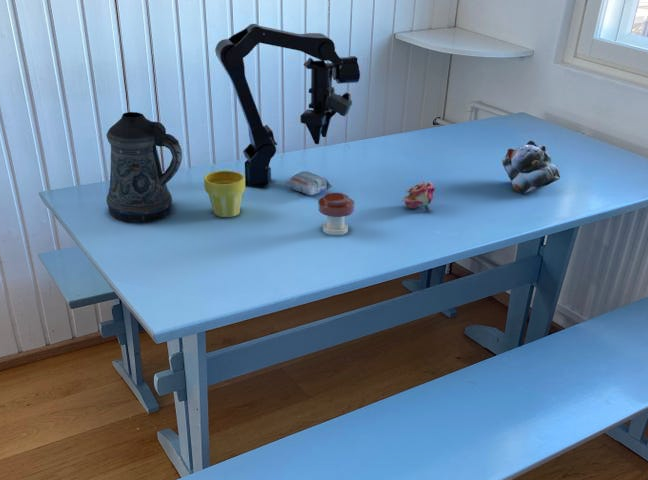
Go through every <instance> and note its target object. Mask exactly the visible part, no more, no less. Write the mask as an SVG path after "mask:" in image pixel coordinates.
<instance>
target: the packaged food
mask: <svg viewBox="0 0 648 480" xmlns="http://www.w3.org/2000/svg"><path fill="white" fill-rule="evenodd" d="M281 184H282V185H284V186H288V188H289V189H291V190H293V191H297V192H299V193H302V194H304V195H308V196H314V195H317V194H320V193H323V192H326V191H328V190H329V189H331V188H333V184H332V183H331V182H330V181H329V180H328V179H327V178H326V177H324V176H321V175H318V174H316V173H313V172H311V171H300V172H298V173H296V174H294V175H293V176H291V177H290V178H289V179H287V180H286V181H282V182H281Z"/></svg>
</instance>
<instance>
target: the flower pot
mask: <svg viewBox="0 0 648 480" xmlns="http://www.w3.org/2000/svg"><path fill="white" fill-rule="evenodd" d="M203 177H204V178H203V182H204V190H205V192H206V193H207V195H208V197H209V201H210V204H211V206H212V210H213V213H214V215H215V216H217V217H220V218H233V217H236V216H238V215H239V214H240V211H241V204H242V199H243V193H244V192H245V190H246V185H245V174H243V173H241V172H240V171H236V170H229V169H228V170H227V169H226V170H216V171H211V172H209V173H207V174H205V176H203Z"/></svg>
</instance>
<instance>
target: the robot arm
mask: <svg viewBox="0 0 648 480" xmlns="http://www.w3.org/2000/svg"><path fill="white" fill-rule="evenodd" d="M259 44H264V45H269V46H273V47H278V48H283V49H289V50H293V51H294V50H295V51H299V52H302V53H304V54H306V55H308V56H309V57H308V59H307V60H306V61H305V62H304V63H303V67H304V68H306V69H307V70H310V88H308V94H310V103H309V104H308V108H307V109H306V110H305V111H303V112H302V113H301V115H300V116H299V117H300V121H299V122H300V124H304V125H305V126H306V128H307V129H308V131H309V134H310V136H311V138H312V140H313V144H314V145H319V144H320V141H321V137H322V138H326V137H327V135H328V131H329V127H330V125H331V124H330V123H331V120H332V117H334V116H335V115H336V114H339V116H342V117H346V116H347V115H348V114H349V112H350V110H351V107H352V106H353V100H352V97H351V93H348V92H344V93H343V94H342V95H341V94H337V93H336V89H335V87H334V86H333V81H335V82H336V84H338V85H339V84H340V85H341V84H354V83H355V84H356V83H359V81H360V80H361V79H360V78H361V70H360V66H359V63H358V57H356V56H355V55H350V56H345V57H344V56H343V57H342V56H341V57H340V56H339V55H338V53H337V52H336V45H335V42H334V41H333V40H332V39H331V38H330V37H328V36H326V35H325V34H323V33H318V32H308V33H296V32H292V31H286V30H282V29H277V28H272V27H267V26H264V25H263V26H262V25H259V24H257V23H251V24H249V25H248V26H246V27H245V28H244V29H242V30H240V31H238V32H236V33H234V34H232V35H231V36H230V37H229V38H224V39H221V40H220V41H218V42H217V44H216V46H215V49H214V50H215V51H214V52H215V56H216V58H217V59H218V61H219V62H220V64H221V66H222V68H223V69H224V71H225V73H226V74H227V75H228V77H229V79H230V82H231V85H232V88H233V90H234V92H235V95H236V97H237V101H238V103H239V105H240V108H241V111H242V114H243V117H244V118H245V121H246V122H245V123H246V124H247V127H248V136H249V137H248V138H249V142H250V143H249V144H248V145H247V146H246V147H245V149H244V150H242V153H243V155H244V157H245V159H246V160H245V162H244V177H245V187H246V186H248V187H254V188H260V189H264V188H266V187H267V186H268V185H269V184H270V183H271V182H272V180H273V179H272V168H271V167H270V163H271V160H272V158H273V157H274V156H275V154H276V153H277V145H278V143H277V142H276V140H275V137H274V132H273V130H272V129H271V128H270V127H269V125H268V124H266V125H264V124H263V121H262V118H261V116H260V113H259V110H258V108H257V107H258V106H257V105H256V102H255V99H254V96H253V93H252V91H251V88H250V85H249V83H248V80H247V77H246V67H245V66H246V65H245V62H244V58H245V57H247V56H248V55H249V54H250V53H251V52H252V51H253V49H254V48H255V47H256V46H257V45H259ZM311 57H312V58H311ZM313 58H315V59H317V60H314V59H313ZM326 61H328V62H326Z"/></svg>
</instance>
